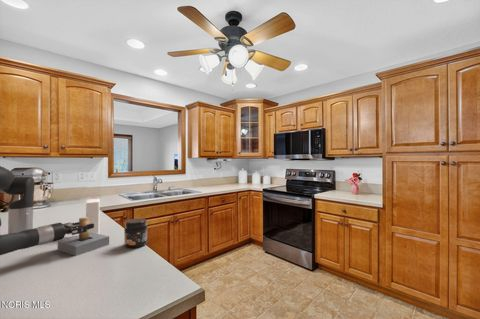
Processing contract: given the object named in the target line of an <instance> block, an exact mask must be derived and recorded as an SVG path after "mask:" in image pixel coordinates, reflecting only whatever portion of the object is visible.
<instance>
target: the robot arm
mask: <svg viewBox="0 0 480 319" xmlns="http://www.w3.org/2000/svg"><path fill="white" fill-rule="evenodd" d="M35 184H36V183H35V179H34V178H33V177H31V176H14V173H13V172H12V171H11V170H9V169H8V168H6V167H4V166H1V165H0V191H1V192H3V193H5V194H6V195H12V196H14V195H15V196H19V195H22V197H21V198H20V199H18V200H15V201H11V202H9V203H8V208H7V209H8V211H7V212H8V220H7V222H8V223H7V233H6V234H0V256H2V255H3V256H4V255H6V254H9V253H12V252H15V251H18V250H25V249H29V248H33V247H36V246H42V245H46V244H50V243H54V242H58V241H61V240H64V239H65V236H66V235H72V236H74V235H75V236H76V235H79V233H83V232H87V230H88V229H92V228H94V224H93V223H92V224H88V225H79V221H77V222H66V223H62V222H55V223H52V224H46V225H41V226H37V227H35V228H33V226H34V223H33V220H34V197H35V196H34V195H35V194H34V193H35ZM1 226H2V219H1V218H0V227H1ZM82 228H83V230H81V229H82Z"/></svg>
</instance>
